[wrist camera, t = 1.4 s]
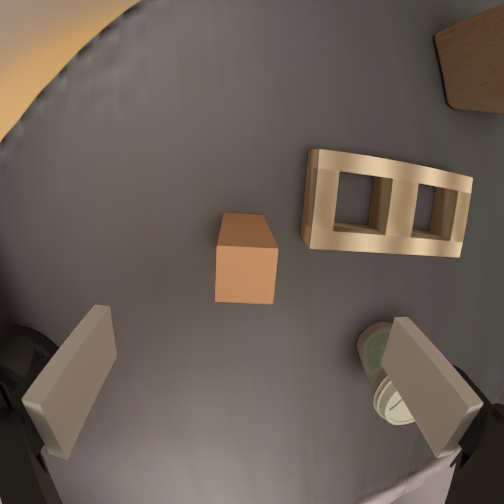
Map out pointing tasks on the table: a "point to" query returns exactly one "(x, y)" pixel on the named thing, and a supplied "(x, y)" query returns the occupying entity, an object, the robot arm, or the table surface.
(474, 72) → the block
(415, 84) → the table surface
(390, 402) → the coffee cup
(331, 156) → the socket block
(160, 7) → the table surface
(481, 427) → the robot arm
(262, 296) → the peg
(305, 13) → the table surface
